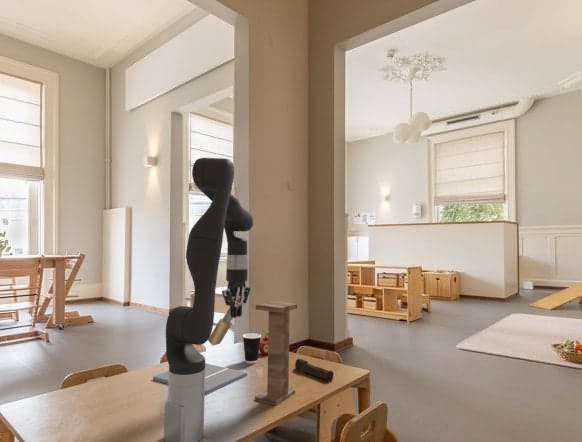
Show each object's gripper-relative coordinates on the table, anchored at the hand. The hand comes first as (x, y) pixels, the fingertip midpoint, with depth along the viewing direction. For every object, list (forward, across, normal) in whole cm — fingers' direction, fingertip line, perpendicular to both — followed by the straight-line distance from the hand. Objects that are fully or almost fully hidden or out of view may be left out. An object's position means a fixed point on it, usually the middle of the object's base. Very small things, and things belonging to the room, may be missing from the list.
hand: (236, 316), depth 140 cm
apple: (+24, +39, +14) cm, 48 cm away
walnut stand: (+24, 0, -17) cm, 29 cm away
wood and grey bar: (+1, 0, +6) cm, 6 cm away
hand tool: (+25, +25, -17) cm, 39 cm away
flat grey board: (+24, 0, +16) cm, 29 cm away
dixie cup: (+24, +26, +12) cm, 38 cm away
